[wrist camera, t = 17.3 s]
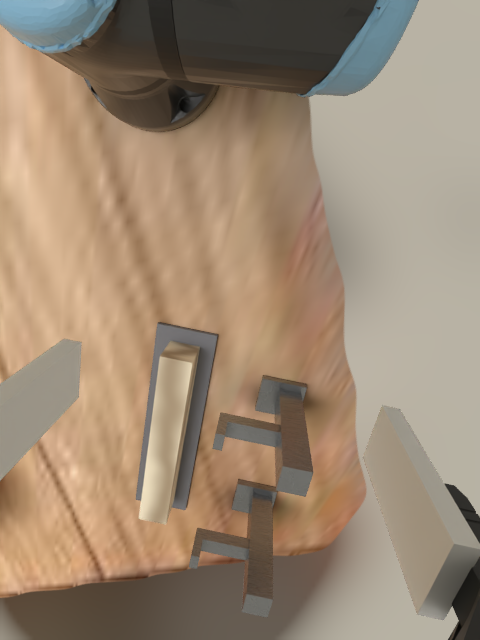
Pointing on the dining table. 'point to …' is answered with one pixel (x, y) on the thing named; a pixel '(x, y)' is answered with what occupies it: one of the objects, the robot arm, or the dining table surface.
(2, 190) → the dining table surface
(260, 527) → the rack
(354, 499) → the dining table surface
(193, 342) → the mat
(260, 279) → the dining table surface
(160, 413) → the rail
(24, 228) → the dining table surface
